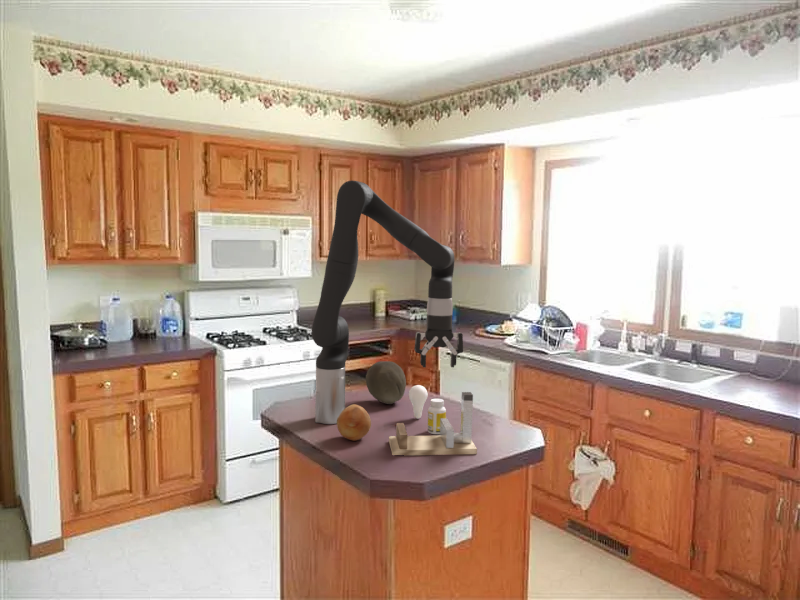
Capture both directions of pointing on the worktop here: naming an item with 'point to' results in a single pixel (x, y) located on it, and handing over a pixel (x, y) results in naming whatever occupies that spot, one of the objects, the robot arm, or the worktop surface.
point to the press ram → (466, 424)
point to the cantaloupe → (386, 381)
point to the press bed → (425, 444)
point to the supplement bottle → (435, 415)
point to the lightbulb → (418, 399)
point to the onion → (353, 422)
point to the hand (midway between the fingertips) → (438, 366)
